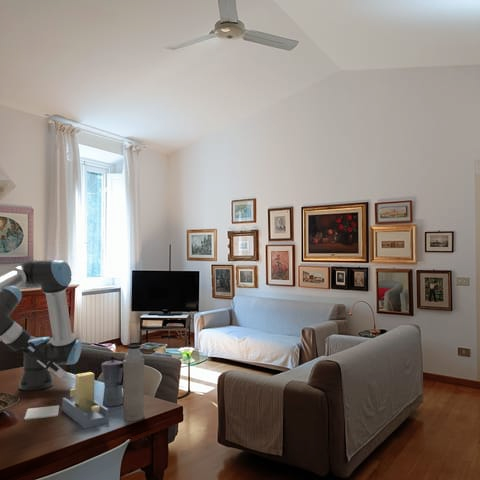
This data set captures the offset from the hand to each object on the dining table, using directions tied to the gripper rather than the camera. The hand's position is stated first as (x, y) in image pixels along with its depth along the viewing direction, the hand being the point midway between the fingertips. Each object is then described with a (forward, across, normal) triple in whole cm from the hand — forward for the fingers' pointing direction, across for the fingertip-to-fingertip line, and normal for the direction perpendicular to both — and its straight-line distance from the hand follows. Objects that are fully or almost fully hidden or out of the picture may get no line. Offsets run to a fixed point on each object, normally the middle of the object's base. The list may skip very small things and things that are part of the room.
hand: (57, 371), depth 165 cm
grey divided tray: (+21, 0, -6) cm, 22 cm away
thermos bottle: (+31, +14, +4) cm, 34 cm away
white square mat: (+13, -15, -14) cm, 24 cm away
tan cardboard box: (+19, 0, -4) cm, 20 cm away
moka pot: (+32, -6, +4) cm, 33 cm away
